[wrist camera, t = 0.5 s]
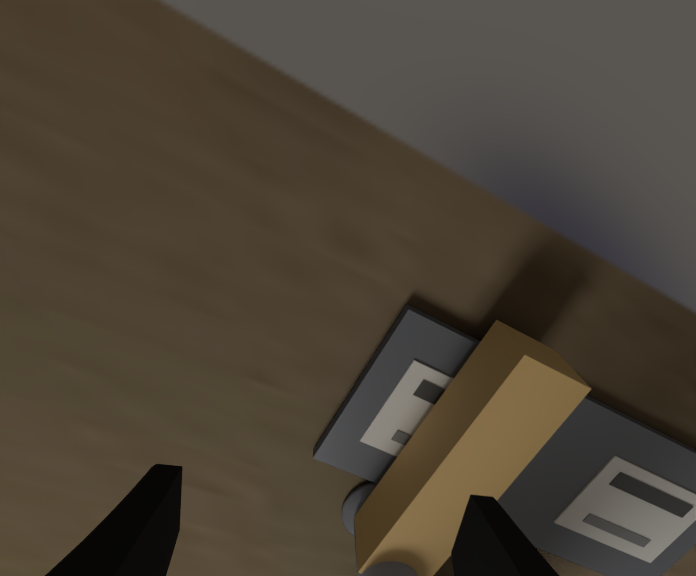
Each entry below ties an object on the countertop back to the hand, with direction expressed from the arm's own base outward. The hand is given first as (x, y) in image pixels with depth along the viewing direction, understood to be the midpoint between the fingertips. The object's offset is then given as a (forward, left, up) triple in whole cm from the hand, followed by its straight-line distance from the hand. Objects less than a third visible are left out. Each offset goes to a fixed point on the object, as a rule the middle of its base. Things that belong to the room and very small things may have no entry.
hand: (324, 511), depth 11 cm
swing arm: (-8, -2, -9) cm, 12 cm away
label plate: (-12, -6, -10) cm, 17 cm away
